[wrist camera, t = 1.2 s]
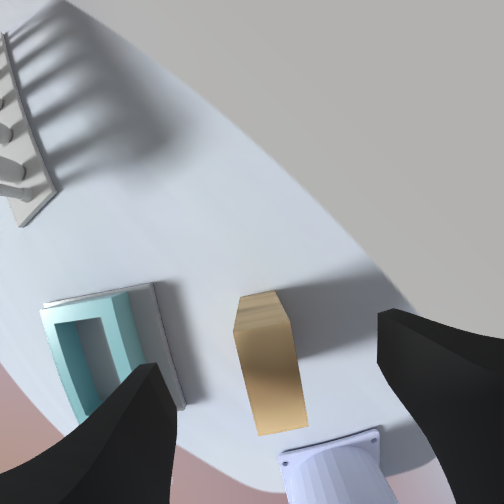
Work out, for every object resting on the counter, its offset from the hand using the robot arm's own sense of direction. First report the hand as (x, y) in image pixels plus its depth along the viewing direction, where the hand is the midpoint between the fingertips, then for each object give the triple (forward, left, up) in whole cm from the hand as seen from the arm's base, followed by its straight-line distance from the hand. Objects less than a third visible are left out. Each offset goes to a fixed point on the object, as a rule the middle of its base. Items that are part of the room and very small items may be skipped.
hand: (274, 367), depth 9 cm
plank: (-2, 0, -10) cm, 11 cm away
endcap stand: (-2, +11, -10) cm, 15 cm away
